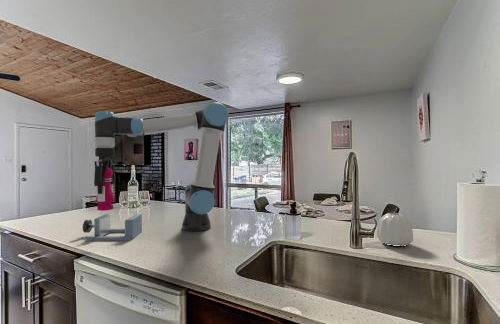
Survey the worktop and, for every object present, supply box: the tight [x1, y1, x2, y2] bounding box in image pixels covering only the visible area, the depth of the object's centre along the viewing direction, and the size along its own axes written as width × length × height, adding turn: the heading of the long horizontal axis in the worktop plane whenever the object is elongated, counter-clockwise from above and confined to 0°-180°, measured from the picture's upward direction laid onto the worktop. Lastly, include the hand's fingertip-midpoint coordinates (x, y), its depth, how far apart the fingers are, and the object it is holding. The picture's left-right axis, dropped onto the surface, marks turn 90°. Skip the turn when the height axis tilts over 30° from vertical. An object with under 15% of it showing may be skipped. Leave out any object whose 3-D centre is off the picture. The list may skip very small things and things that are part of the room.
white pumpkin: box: [376, 212, 414, 246], centre depth 119 cm, size 14×14×13 cm
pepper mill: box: [95, 168, 116, 212], centre depth 120 cm, size 7×7×20 cm
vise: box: [85, 213, 143, 242], centre depth 131 cm, size 20×15×9 cm
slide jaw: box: [82, 214, 111, 237], centre depth 131 cm, size 9×10×9 cm
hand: (105, 199), depth 120 cm, fingers closed on pepper mill, 7 cm apart
